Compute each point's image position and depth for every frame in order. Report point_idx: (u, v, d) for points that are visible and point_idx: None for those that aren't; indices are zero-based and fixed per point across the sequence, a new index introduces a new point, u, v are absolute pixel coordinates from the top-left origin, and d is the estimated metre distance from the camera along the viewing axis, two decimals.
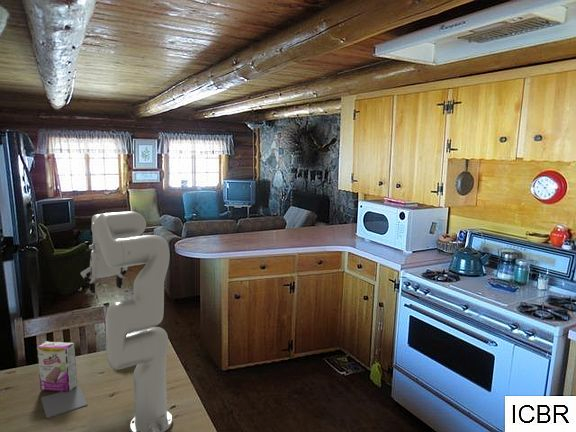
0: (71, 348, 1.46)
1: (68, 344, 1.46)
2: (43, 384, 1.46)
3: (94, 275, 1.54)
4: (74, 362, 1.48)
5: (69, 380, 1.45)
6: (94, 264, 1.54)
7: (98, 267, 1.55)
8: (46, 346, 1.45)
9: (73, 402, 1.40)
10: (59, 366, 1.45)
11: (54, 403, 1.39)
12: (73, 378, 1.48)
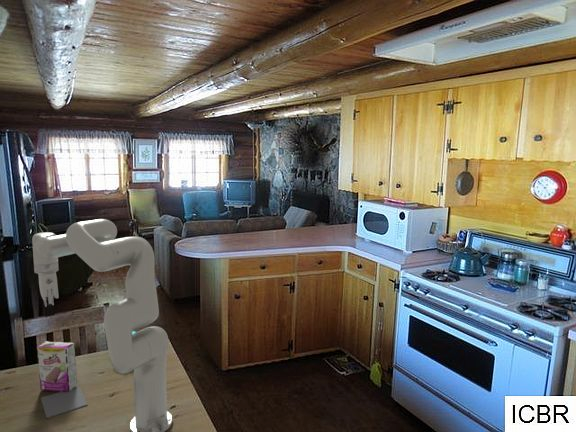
0: (71, 348, 1.46)
1: (68, 344, 1.46)
2: (43, 384, 1.46)
3: (58, 295, 1.49)
4: (74, 362, 1.48)
5: (69, 380, 1.45)
6: None
7: (57, 286, 1.50)
8: (46, 346, 1.45)
9: (73, 402, 1.40)
10: (59, 366, 1.45)
11: (54, 403, 1.39)
12: (73, 378, 1.48)
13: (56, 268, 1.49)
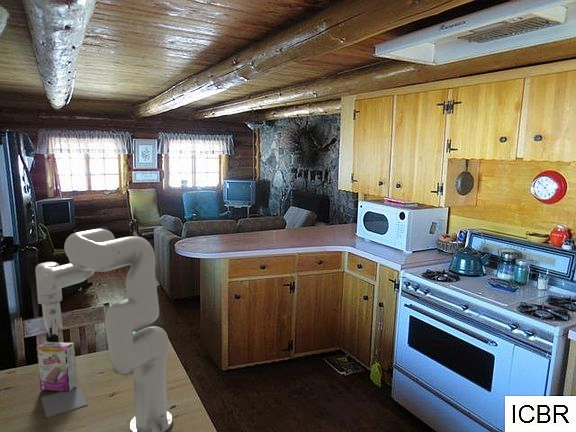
0: (70, 348, 1.46)
1: (68, 344, 1.46)
2: (43, 384, 1.46)
3: (61, 325, 1.48)
4: (74, 362, 1.48)
5: (69, 380, 1.45)
6: (60, 314, 1.47)
7: None
8: (46, 346, 1.45)
9: (73, 402, 1.40)
10: (59, 366, 1.44)
11: (54, 403, 1.39)
12: (73, 378, 1.47)
13: (60, 298, 1.48)
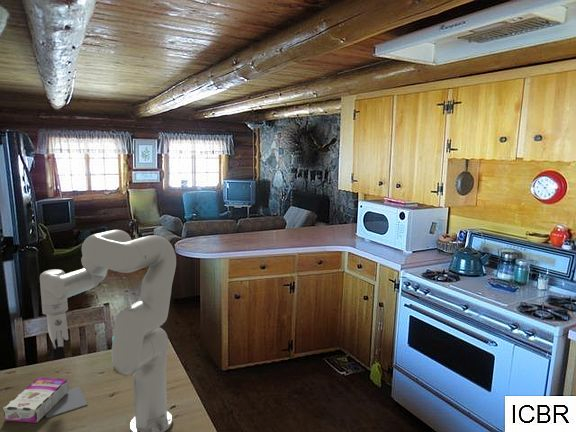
0: (38, 413, 1.30)
1: (32, 414, 1.29)
2: None
3: (67, 337, 1.39)
4: (50, 397, 1.36)
5: (61, 397, 1.41)
6: (66, 325, 1.39)
7: None
8: (13, 419, 1.30)
9: (73, 402, 1.40)
10: None
11: None
12: (61, 391, 1.41)
13: (65, 308, 1.40)
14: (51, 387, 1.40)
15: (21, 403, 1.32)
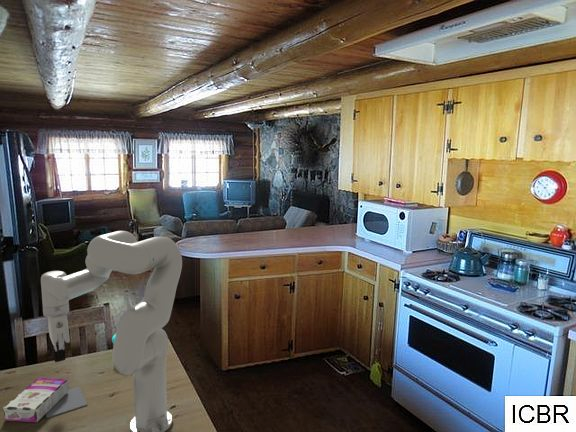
0: (38, 413, 1.30)
1: (32, 414, 1.29)
2: None
3: (69, 339, 1.37)
4: (50, 397, 1.36)
5: (61, 397, 1.41)
6: None
7: None
8: (13, 419, 1.30)
9: (73, 402, 1.40)
10: None
11: None
12: (61, 391, 1.41)
13: (67, 310, 1.38)
14: (50, 387, 1.40)
15: (21, 402, 1.32)
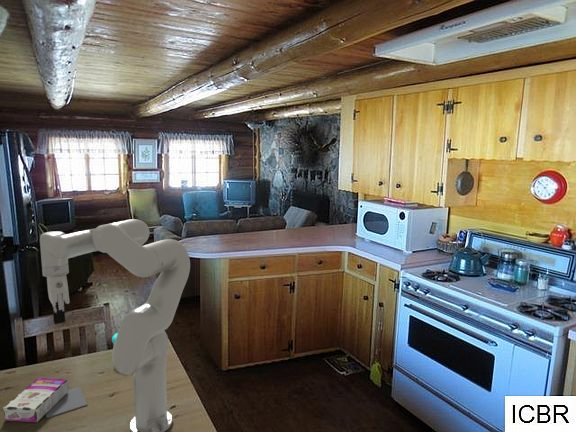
0: (38, 413, 1.30)
1: (32, 414, 1.29)
2: None
3: (68, 300, 1.36)
4: (50, 397, 1.36)
5: (61, 397, 1.41)
6: (67, 288, 1.35)
7: None
8: (13, 419, 1.30)
9: (73, 402, 1.40)
10: None
11: None
12: (61, 391, 1.41)
13: (66, 270, 1.36)
14: (50, 387, 1.40)
15: (21, 402, 1.32)
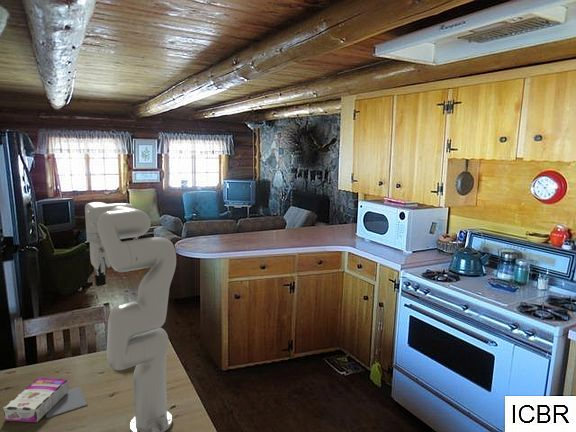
0: (38, 413, 1.30)
1: (32, 414, 1.29)
2: None
3: None
4: (50, 397, 1.36)
5: (61, 397, 1.41)
6: None
7: None
8: (13, 419, 1.30)
9: (73, 402, 1.40)
10: None
11: None
12: (61, 391, 1.41)
13: None
14: (50, 387, 1.40)
15: (21, 402, 1.32)
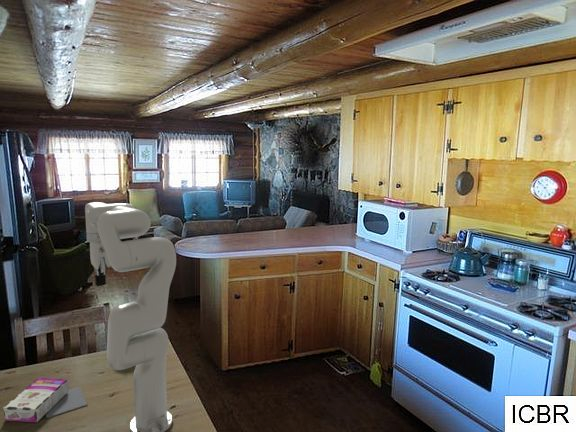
0: (38, 413, 1.30)
1: (32, 414, 1.29)
2: None
3: (110, 264, 1.50)
4: (50, 397, 1.36)
5: (61, 397, 1.41)
6: None
7: None
8: (13, 419, 1.30)
9: (73, 402, 1.40)
10: None
11: None
12: (61, 391, 1.41)
13: None
14: (50, 387, 1.40)
15: (21, 402, 1.32)
